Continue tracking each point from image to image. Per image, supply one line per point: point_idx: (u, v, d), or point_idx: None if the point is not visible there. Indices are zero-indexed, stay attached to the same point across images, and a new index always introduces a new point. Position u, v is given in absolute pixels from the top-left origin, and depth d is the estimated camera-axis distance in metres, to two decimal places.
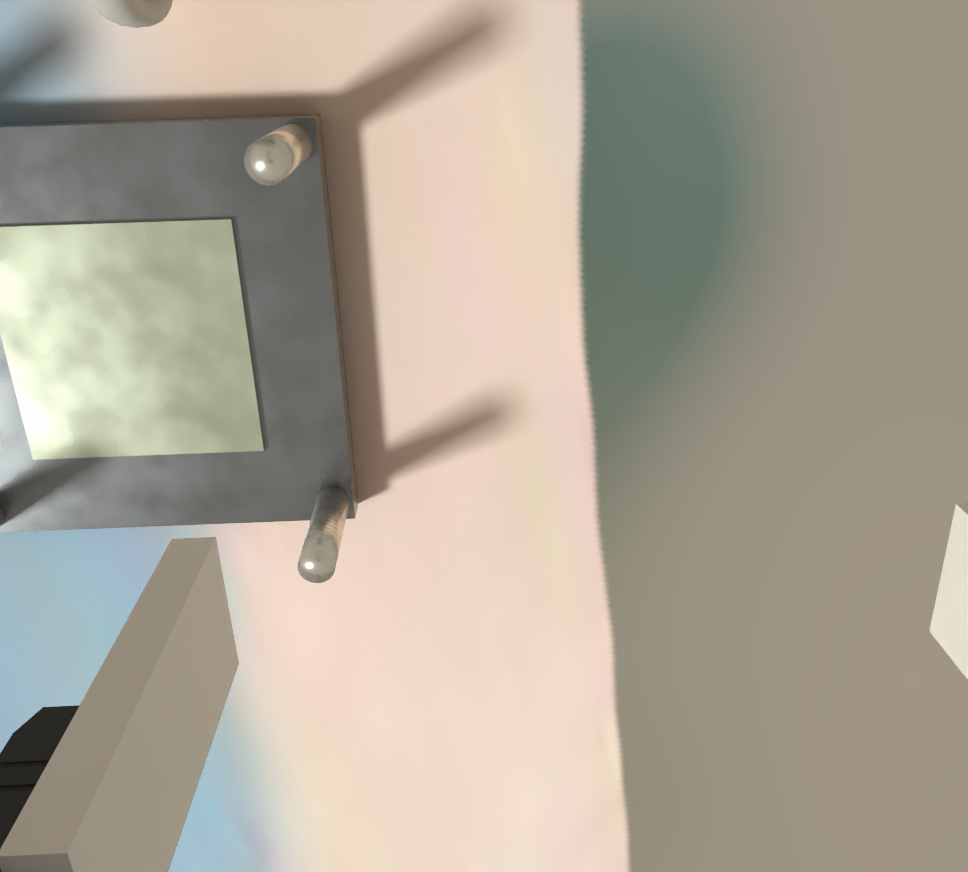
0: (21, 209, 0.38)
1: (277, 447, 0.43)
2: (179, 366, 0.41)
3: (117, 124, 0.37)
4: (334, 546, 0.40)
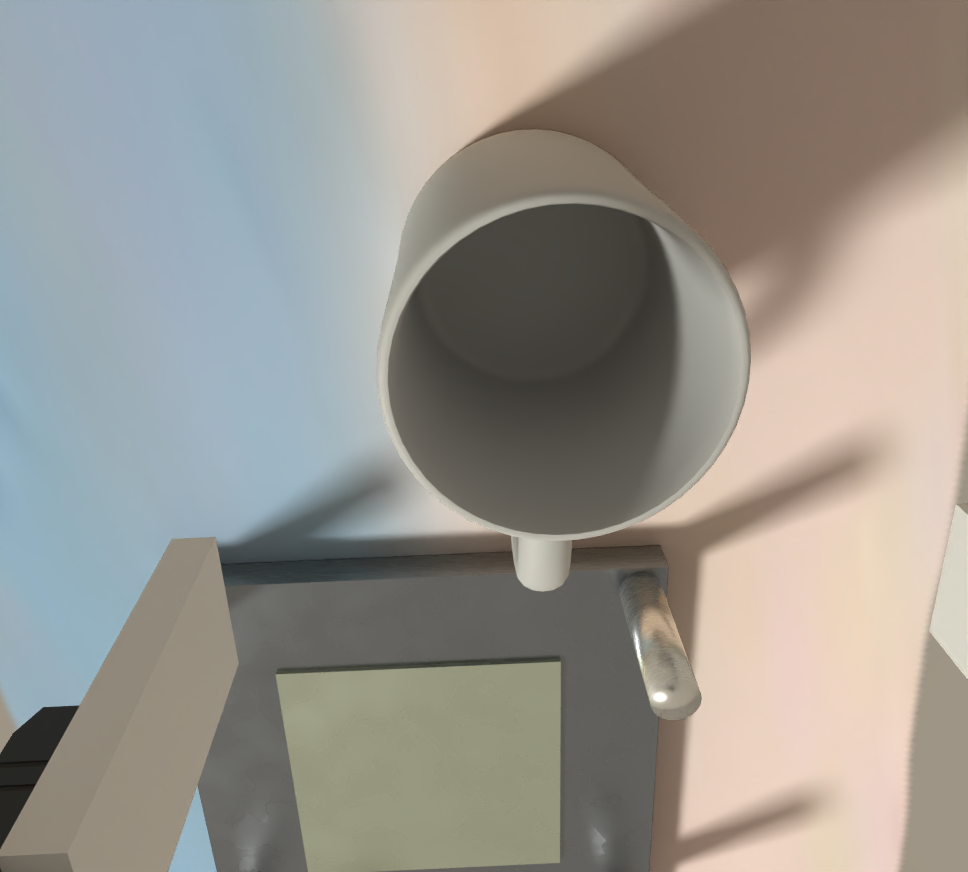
0: (330, 654, 0.34)
1: (573, 857, 0.39)
2: (481, 791, 0.37)
3: (448, 577, 0.33)
4: None
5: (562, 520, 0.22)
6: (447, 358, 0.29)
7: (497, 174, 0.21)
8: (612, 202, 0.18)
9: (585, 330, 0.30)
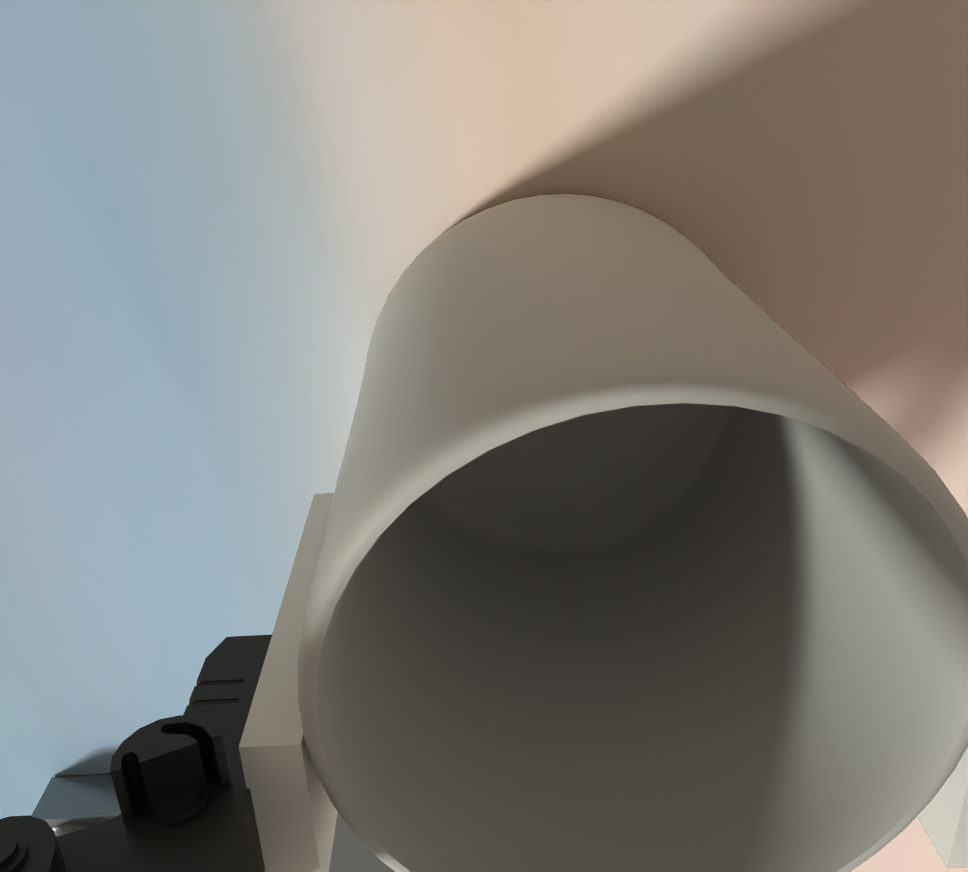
0: None
1: None
2: None
3: None
4: None
5: None
6: (436, 528, 0.19)
7: (519, 304, 0.12)
8: (758, 402, 0.09)
9: (636, 480, 0.20)
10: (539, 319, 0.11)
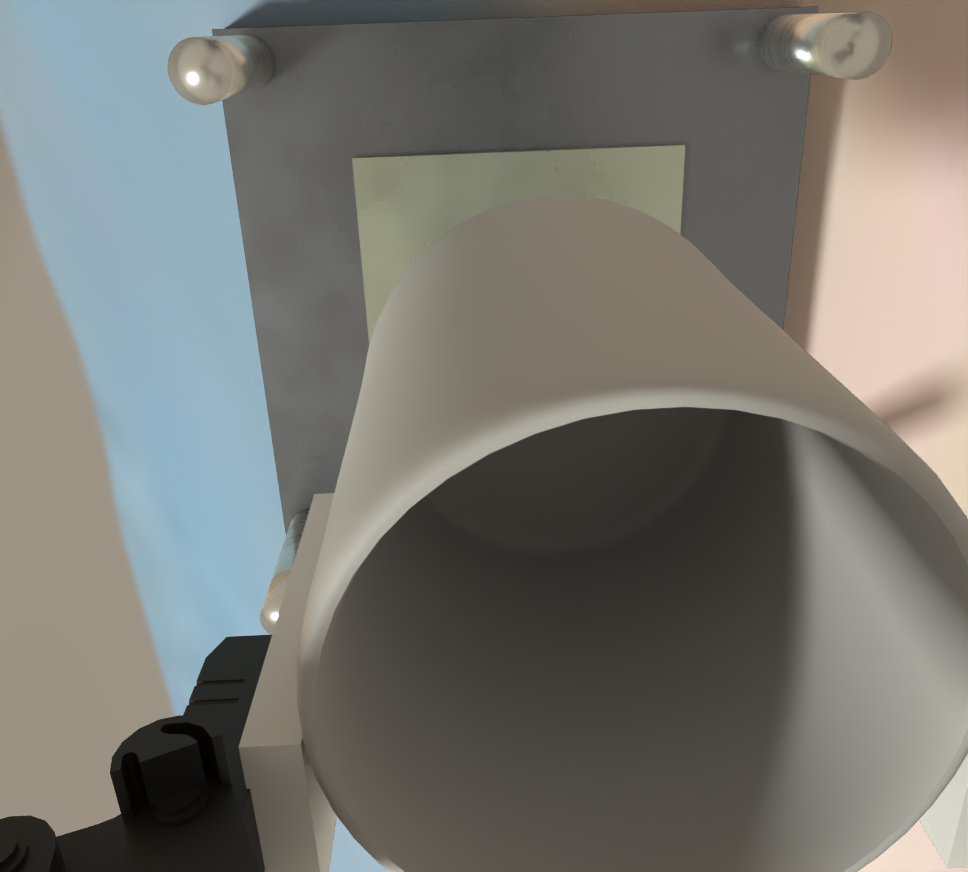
0: (416, 133, 0.29)
1: None
2: None
3: (559, 17, 0.28)
4: None
5: None
6: (436, 530, 0.19)
7: (519, 307, 0.12)
8: (760, 406, 0.09)
9: (636, 482, 0.20)
10: (539, 322, 0.11)
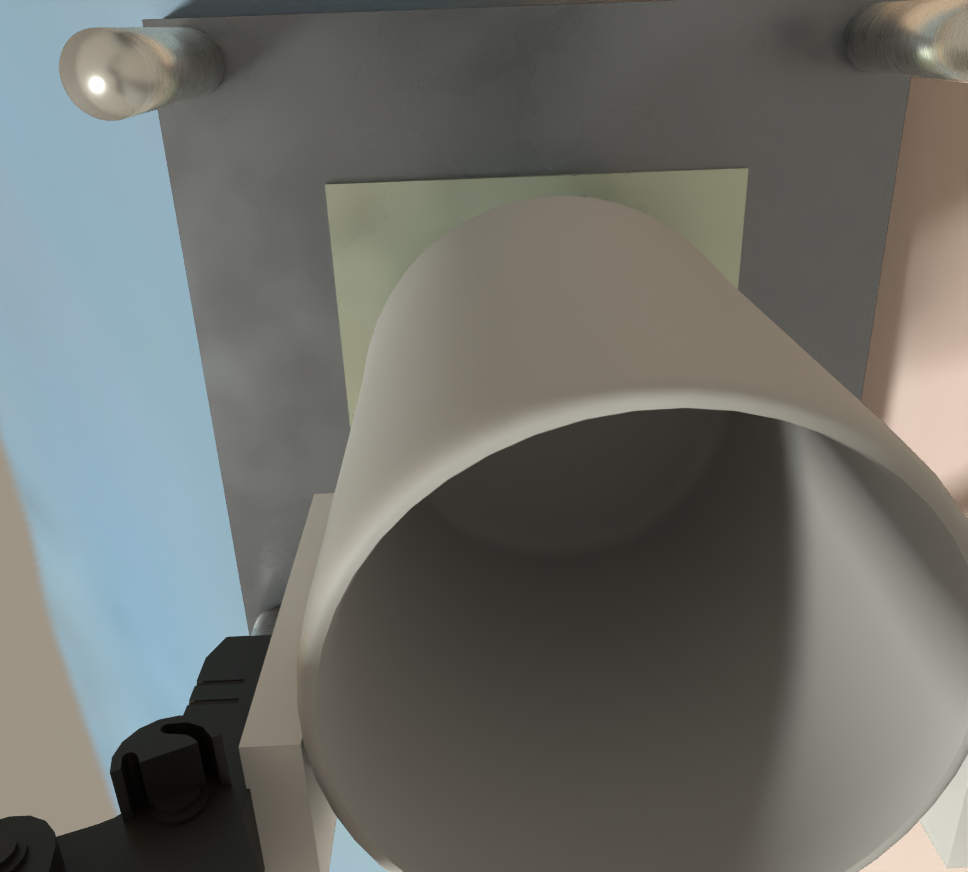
0: (406, 153, 0.23)
1: None
2: None
3: (590, 4, 0.22)
4: None
5: None
6: (436, 530, 0.19)
7: (519, 308, 0.12)
8: (760, 407, 0.09)
9: (636, 483, 0.20)
10: (539, 323, 0.11)
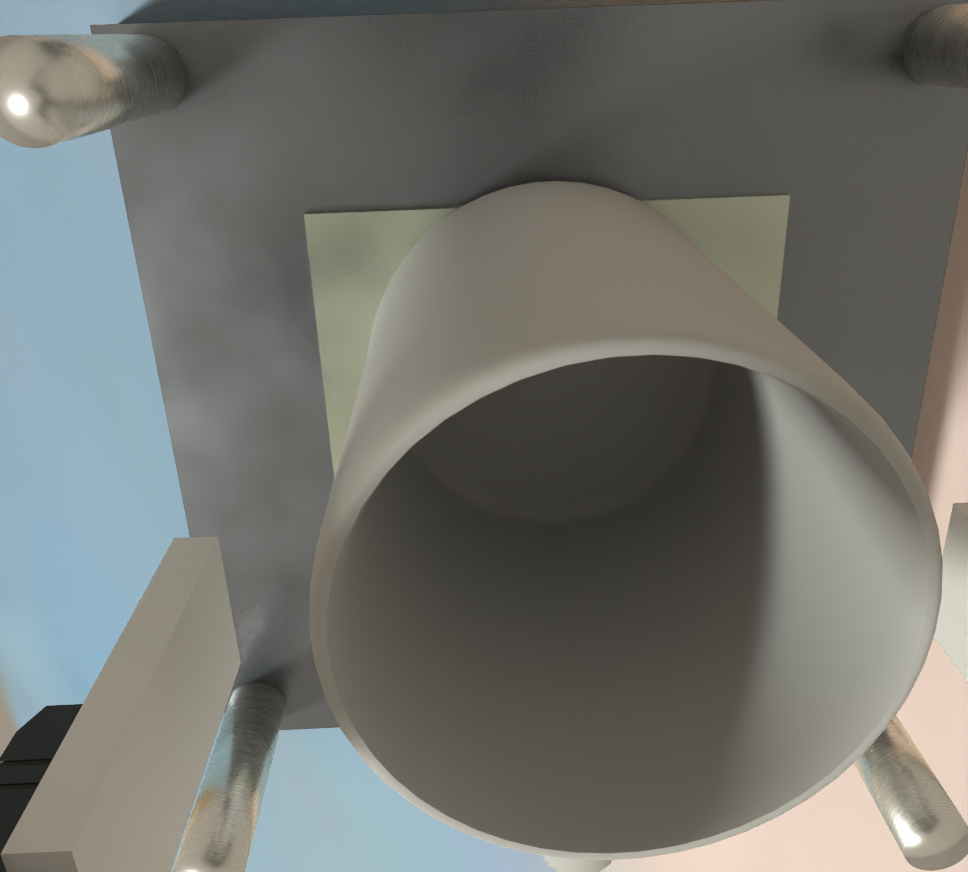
0: (397, 178, 0.20)
1: None
2: None
3: (610, 7, 0.19)
4: (948, 796, 0.22)
5: (614, 820, 0.14)
6: (436, 498, 0.21)
7: (510, 276, 0.13)
8: (721, 353, 0.10)
9: (626, 454, 0.21)
10: (528, 287, 0.12)
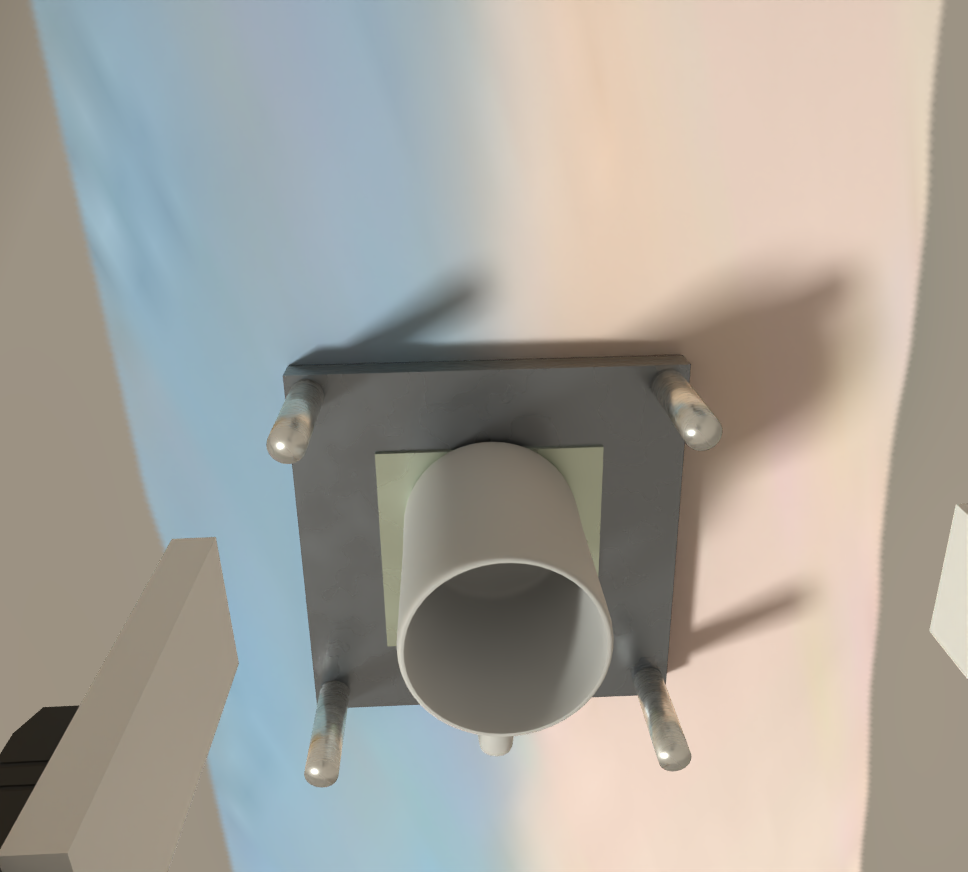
0: (419, 438, 0.43)
1: None
2: None
3: (517, 369, 0.42)
4: None
5: (506, 722, 0.36)
6: (435, 588, 0.43)
7: (468, 518, 0.36)
8: (531, 562, 0.33)
9: (527, 566, 0.44)
10: (474, 527, 0.35)
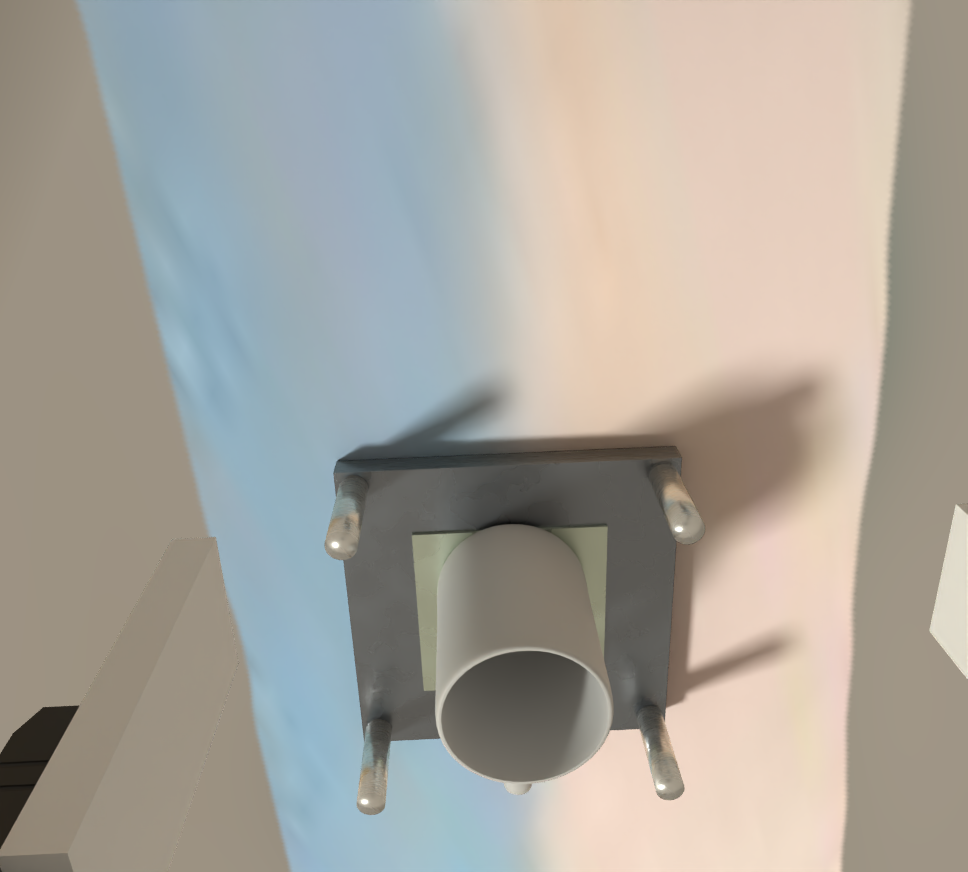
0: (449, 521, 0.50)
1: (613, 678, 0.55)
2: None
3: (532, 464, 0.49)
4: (678, 769, 0.52)
5: (525, 772, 0.44)
6: None
7: (492, 605, 0.43)
8: (544, 650, 0.40)
9: None
10: (497, 615, 0.42)
